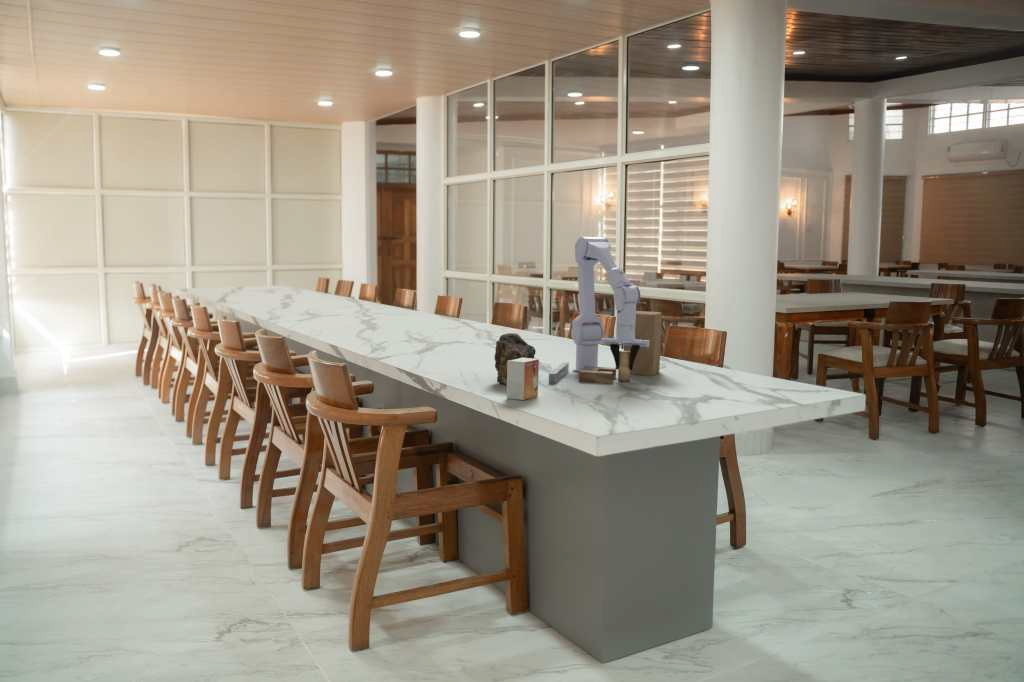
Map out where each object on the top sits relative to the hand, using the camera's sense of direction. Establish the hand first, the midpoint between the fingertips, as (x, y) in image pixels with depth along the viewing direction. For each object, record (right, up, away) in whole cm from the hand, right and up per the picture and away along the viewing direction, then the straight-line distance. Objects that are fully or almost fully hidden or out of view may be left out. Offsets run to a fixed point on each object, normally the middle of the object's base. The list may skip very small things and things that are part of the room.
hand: (624, 369), depth 263 cm
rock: (-34, -4, -6) cm, 34 cm away
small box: (-32, -7, -29) cm, 44 cm away
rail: (-20, -3, +5) cm, 21 cm away
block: (-8, -3, +2) cm, 9 cm away
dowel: (0, -4, 0) cm, 4 cm away
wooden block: (+8, -2, +17) cm, 19 cm away
